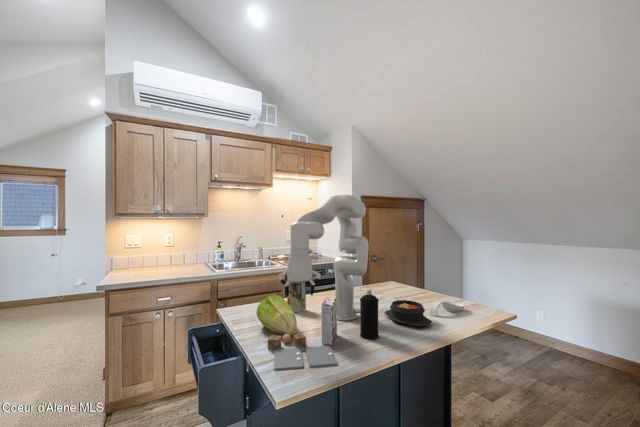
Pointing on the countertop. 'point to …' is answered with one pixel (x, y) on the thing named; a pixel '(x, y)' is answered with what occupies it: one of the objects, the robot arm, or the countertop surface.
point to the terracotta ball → (286, 338)
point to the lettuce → (277, 315)
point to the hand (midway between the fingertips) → (299, 295)
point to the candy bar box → (329, 321)
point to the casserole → (408, 313)
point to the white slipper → (447, 305)
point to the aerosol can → (369, 316)
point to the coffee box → (297, 296)
